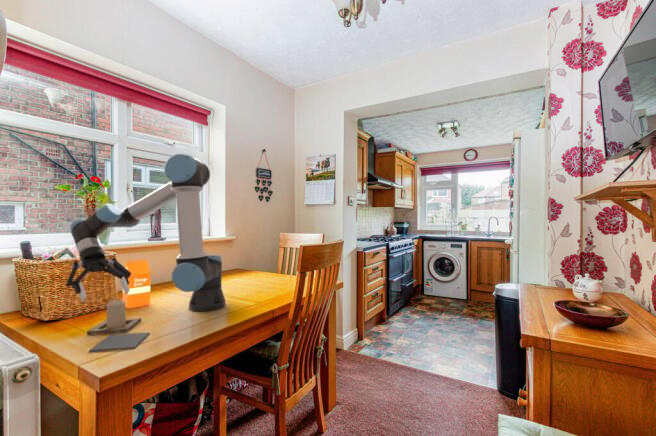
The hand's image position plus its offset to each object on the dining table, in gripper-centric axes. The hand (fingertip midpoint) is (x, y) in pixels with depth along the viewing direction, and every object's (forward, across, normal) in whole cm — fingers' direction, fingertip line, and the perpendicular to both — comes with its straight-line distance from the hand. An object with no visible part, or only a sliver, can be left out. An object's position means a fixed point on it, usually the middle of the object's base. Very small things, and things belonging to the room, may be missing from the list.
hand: (107, 295), depth 111 cm
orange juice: (-6, -19, -22) cm, 30 cm away
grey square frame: (+12, -1, -3) cm, 12 cm away
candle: (+12, -1, -4) cm, 12 cm away
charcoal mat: (+23, +4, +8) cm, 25 cm away
